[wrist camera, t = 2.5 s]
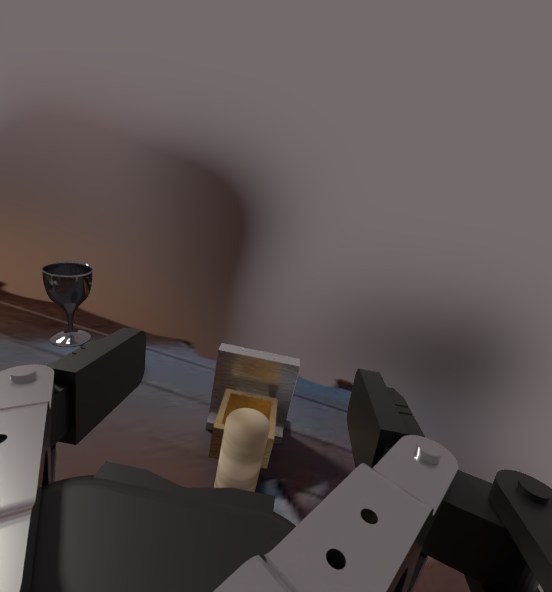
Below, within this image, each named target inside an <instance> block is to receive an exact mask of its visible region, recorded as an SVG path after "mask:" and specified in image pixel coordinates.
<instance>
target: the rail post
mask: <svg viewBox="0 0 552 592" xmlns="http://www.w3.org/2000/svg"><path fill="white" fill-rule="evenodd" d="M269 431H270V423H269V421H268V419H267V417H266V416H265V415H264V414H262V413H261V412H259V411H257V410H255V409H251V408H240V409H236V410H234V411H232V412H231V413H230V414H229V415H228V416H227V418H226V423H225V428H224V434H223V440H222V445H221V451H220V457H219V462H218V468H217V474H216V479H215V485H214V488H237V489H242V490H247V491H252V492H255V488H256V484H257V480H258V476H259V472H260V468H261V464H262V460H263V456H264V452H265V447H266V443H267V439H268V435H269Z"/></svg>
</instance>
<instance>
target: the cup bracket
mask: <svg viewBox="0 0 552 592" xmlns="http://www.w3.org/2000/svg"><path fill="white" fill-rule="evenodd" d="M299 369H300V359H297V358H292V357H287V356H282V355H277V354H272V353H268V352H263V351H257V350H253V349H248V348H243V347H238V346H233V345H229V344H224V343H222V344H221V346H220V348H219V351H218V358H217V363H216V370H215V377H214V383H213V390H212V397H211V403H210V410H209V417H208V420H207V423H206V429H207V430H212V431H213V433H212V439H211V445H210V452H209V457H211V458H216V459H219V457H220V451H221V445H222V440H223V434H224V428H225V423H226V418H227V416H228V415H229V414H230V413H231V412H232V411H234V410H236V409H240V408H251V409H255V410H257V411H259V412H261V413H262V414H264V415H265V416H266V417H267V419H268V421H269V423H270V431H269V435H268V439H267V443H266V447H265V452H264V456H263V460H262V464H261V468H266V469H267V466H268V462H269V458H270V454H271V450H272V446H273V443H276V444H281V441H282V436H283V429H284V425H285V422H286V418H287V414H288V410H289V406H290V403H291V399H292V395H293V391H294V387H295V384H296V380H297V376H298V372H299Z"/></svg>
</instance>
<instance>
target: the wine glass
mask: <svg viewBox="0 0 552 592" xmlns="http://www.w3.org/2000/svg"><path fill="white" fill-rule="evenodd" d="M92 273H93V272H92V267H90V266H89V265H87V264H84V263H79V262H68V261H66V262H54V263H49V264H46V265H44V266H43V267H42V275H43V282H44V286H45V290H46V292H47V294H48V296H49V298H50V299H51V300H52V301H53V302H55V303H56V304H57V305H59V306H60V307H61V308H62V309H63V310H64V311H65V313H66V315H67V320H68V329H66V330H62V331H59V332H56V333H54V334H53V335H52V336H51V337H50V342H51V343H52V344H54V345H56V346H61V347H72V346H78V345H81V344H84V343H86V342H88V341H89V340H90V339H91V334H90V333H89V332H88V331H86V330H82V329H73V317H74V312H75V310H76V309H77V307H78V306H79V305H80V304H82V303H83V302H84V301H85V300H86V299H87V297H88V296H89V294H90V291H91V287H92V277H93V276H92V275H93V274H92Z"/></svg>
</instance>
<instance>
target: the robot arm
mask: <svg viewBox="0 0 552 592" xmlns="http://www.w3.org/2000/svg"><path fill="white" fill-rule="evenodd" d="M145 351H146V334H145V332H144V331H140V330H135V329H129V328H121V329H120V330H118V331H116V332H114V333H112V334H111V335H109V336H107V337H105V338H102V339H99V340H95V341H92V342H90V343H88V344H86V345H84V346H83V347H81V349H77V350H75V351H73V352H72V354H68V355H66V356H64V357H62V358H60V359H59V360H57V361H55V362H53V363H51V364H49V365H48V366H44V365H23V366H17V367H13V368H9V369H6V370H4V371H1V372H0V592H413V590H414V588H415V586H416V584H417V581H418V579H419V577H420V575H421V573H422V571H423V569H424V567H425V564H426V562H427V560H428V557H429V556H430V557H432V558H434V559H436V560H438V561H440V562H441V563H443V564H445V565H447V566H449V567H451V568H453V569H455V570H457V571H459V572H461V573H463V574H464V575H465V578H466V581H467V583H468V586H469V588H470V591H471V592H540V591H539V589H538V585H539V584H540V585H541V587H542V589H543V591H544V592H552V489H551V488H550V487H548V486H547V485H545V484H544V483H542V482H540V481H539V480H536V479H534V478H533V477H531V476H528V475H526V474H523V473H520V472H517V471H512V470H501V471H499V472H498V473H497V474H496V477H495V479H494V482H493V484H492V483H489V482H487V481H484V480H482V479H479V478H477V477H474V476H472V475H469V474H467V473H464V472H462V471H460V470H458V463H457V461H456V459H455V457H454V456H453V455H452V454H451V453H450V452H449V451H448V450H447V449H446V448H444V447H443V446H442V445H440V444H438V443H437V442H435V441H433V440H430V439H428V438H425V436H424V434H423V432H422V431H421V429H420V427H419V425H418V423H417V421H416V420H415V418H414V416H412V412H411V410H410V409H409V408H408V405H407V403H406V401H405V400H404V398H403V397H402V396H401V395H400V394H399V393H398V392H397V391H396V390H394V389H393V388H389V387H386V385H385V383H384V381H383V378H382V377H381V374H380V373H379V372H375V371H370V370H364V369H358V370H357V372H356V375H355V379H354V384H353V388H352V393H351V397H350V402H349V406H348V413H347V425H348V431H349V436H350V441H351V446H352V452H353V457H354V462H355V467H356V469H355V470H354V471H353V472H352V473H351V474H350V475H349V476H348V477H346V478H345V479H344V480H343V481H342V482H341V483H340V484H339V485H338V486H337V487H336V488H335V489H334V490H333V491H332V492H331V493H330V494H329V495H328V496H327V497H326V498H325V499H324V500H323V501H322V502H321V503H320V504H319V505H318V506H317V507H316V508H315V509H314V510H313V511H312V512H311V513H310V514H309V515H307V516H306V517H305V518H304V519H303V520H302V521H301V522H300V523H299V524H298V525H297V526H295V525H294V524H293V523H291V522H290V521H289V520H287V519H285V518H284V517H282V516H281V515H279V514H277V513H275V512H273V508H274V500H275V496H271V495H266V494H262V493H257V492H252V491H247V490H242V489H237V488H184V487H181V486H179V485H177V484H175V483H173V482H171V481H169V480H167V479H164V478H162V477H160V476H158V475H156V474H154V473H152V472H150V471H148V470H145V469H140V468H135V467H130V466H125V465H121V464H116V463H111V462H105V464H104V465H103V466H102V467H101V468H100V469H99V471H98V472H97V473H96V474H95V475H88V476H79V477H74V478H68V479H64V480H61V481H57V482H54V480H55V466H56V443H57V442H63V443H68V444H73V445H77V444H78V443H79V442H80V441H81V440H82V439H83V438H84V437H85V436H86V435H87V434H88V433H89V432H90V431H91V430H92V429H93V428H95V427H96V426H97V425H98V424H99V423H100V422H101V421H102V420H103V419H104V418H105V417H106V416H107V415H108V414H109V413H110V412H111V411H112V410H113V409H114V408H116V407H117V406H118V405H119V404H120V403H121V402H122V401H123V400H124V399H125V398H126V397H127V396H128V395H129V394H130V393H131V392H132V391H133V390H134V389H135V388H137V387H138V385H139V384H140V382H141V380H142V378H143V375H144V370H145Z"/></svg>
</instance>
